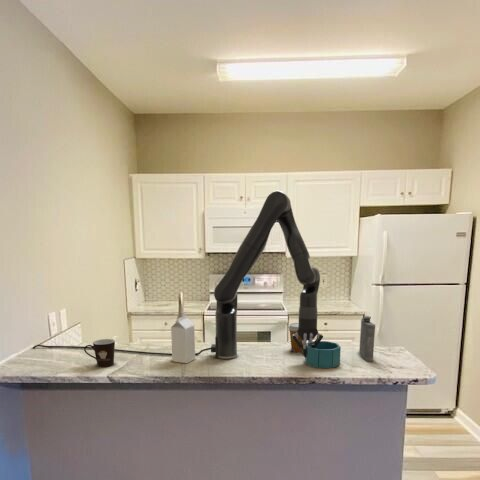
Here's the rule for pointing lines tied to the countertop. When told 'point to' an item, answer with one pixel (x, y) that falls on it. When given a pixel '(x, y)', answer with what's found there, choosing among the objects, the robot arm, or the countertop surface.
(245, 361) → the countertop surface
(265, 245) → the robot arm
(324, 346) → the teal octagonal bowl
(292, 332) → the disposable coffee cup
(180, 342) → the milk carton
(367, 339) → the flask
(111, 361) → the coffee mug
